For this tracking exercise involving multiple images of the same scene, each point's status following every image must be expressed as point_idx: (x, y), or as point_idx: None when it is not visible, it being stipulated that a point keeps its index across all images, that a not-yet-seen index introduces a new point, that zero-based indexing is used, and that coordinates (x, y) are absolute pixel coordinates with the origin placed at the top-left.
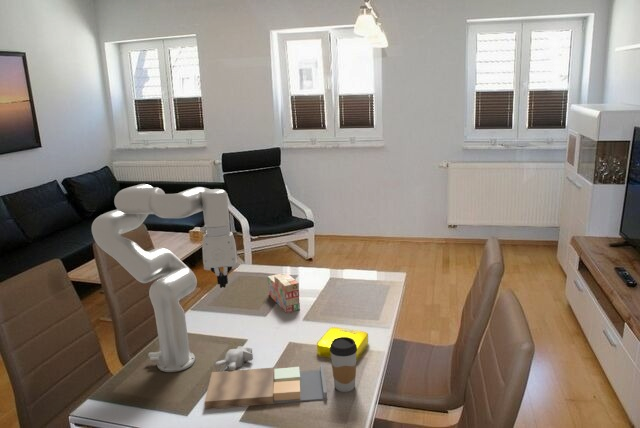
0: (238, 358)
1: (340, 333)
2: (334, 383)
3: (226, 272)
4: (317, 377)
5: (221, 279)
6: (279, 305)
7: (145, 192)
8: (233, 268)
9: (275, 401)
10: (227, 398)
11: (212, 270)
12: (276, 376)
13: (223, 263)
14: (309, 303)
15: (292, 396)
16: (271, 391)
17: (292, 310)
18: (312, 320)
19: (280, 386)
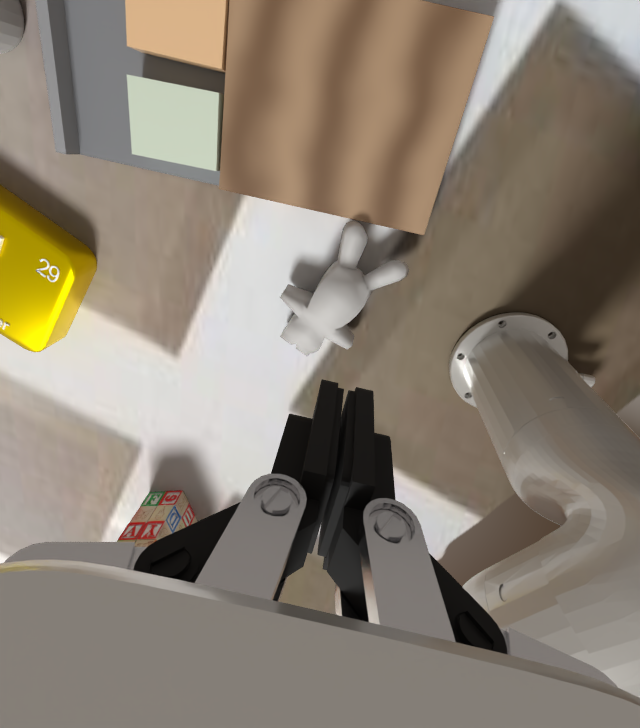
0: (327, 274)
1: (4, 306)
2: (12, 7)
3: (252, 506)
4: (86, 103)
5: (346, 446)
6: None
7: None
8: (119, 547)
9: None
10: (404, 9)
11: (469, 610)
12: (210, 110)
13: (215, 716)
14: (126, 508)
15: None
16: (235, 2)
17: (166, 493)
18: (116, 435)
19: (198, 21)
